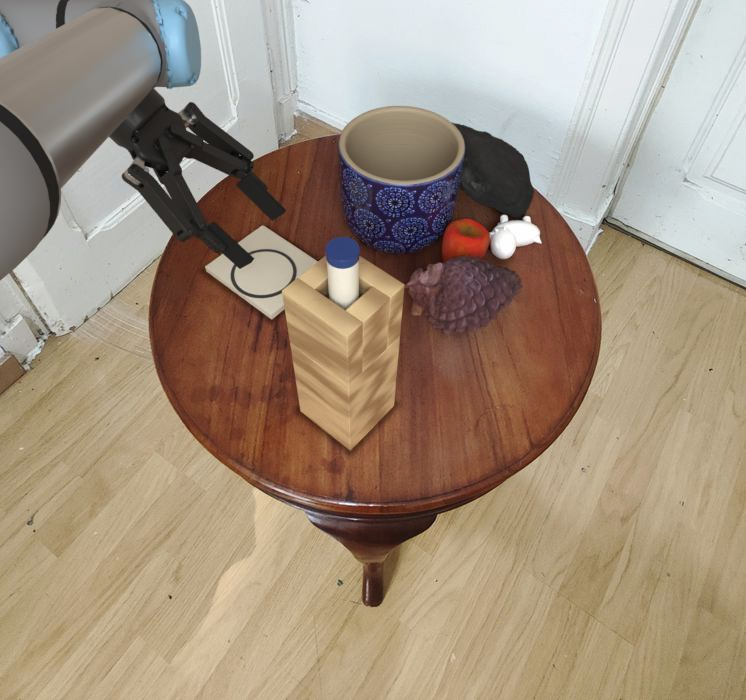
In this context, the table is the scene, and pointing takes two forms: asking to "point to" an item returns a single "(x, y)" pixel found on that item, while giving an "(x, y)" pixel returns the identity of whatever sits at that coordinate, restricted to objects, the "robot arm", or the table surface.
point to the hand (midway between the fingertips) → (263, 238)
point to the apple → (465, 240)
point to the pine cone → (462, 293)
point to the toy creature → (512, 236)
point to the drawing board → (263, 270)
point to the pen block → (345, 350)
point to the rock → (495, 173)
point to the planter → (399, 177)
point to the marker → (343, 271)
